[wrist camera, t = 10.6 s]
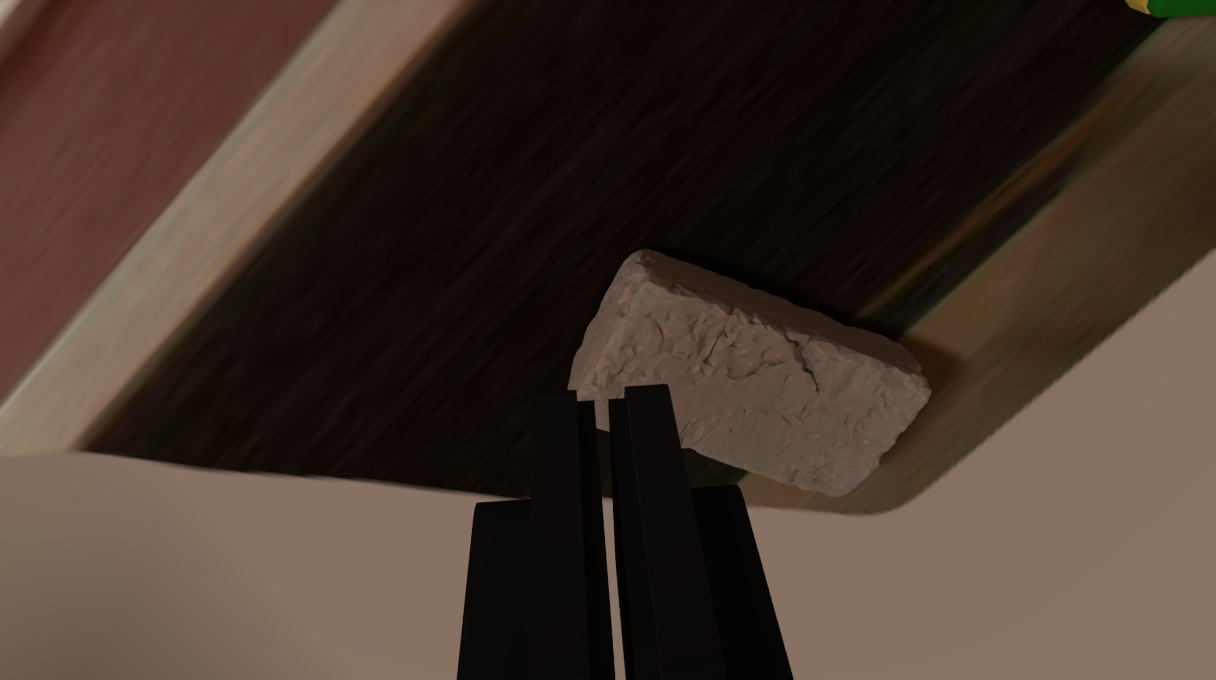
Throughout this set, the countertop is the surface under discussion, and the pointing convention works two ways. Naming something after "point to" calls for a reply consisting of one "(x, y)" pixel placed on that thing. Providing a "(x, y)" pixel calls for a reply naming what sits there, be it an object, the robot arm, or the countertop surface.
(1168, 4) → the dish sponge
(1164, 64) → the countertop surface
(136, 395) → the countertop surface
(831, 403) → the brick
